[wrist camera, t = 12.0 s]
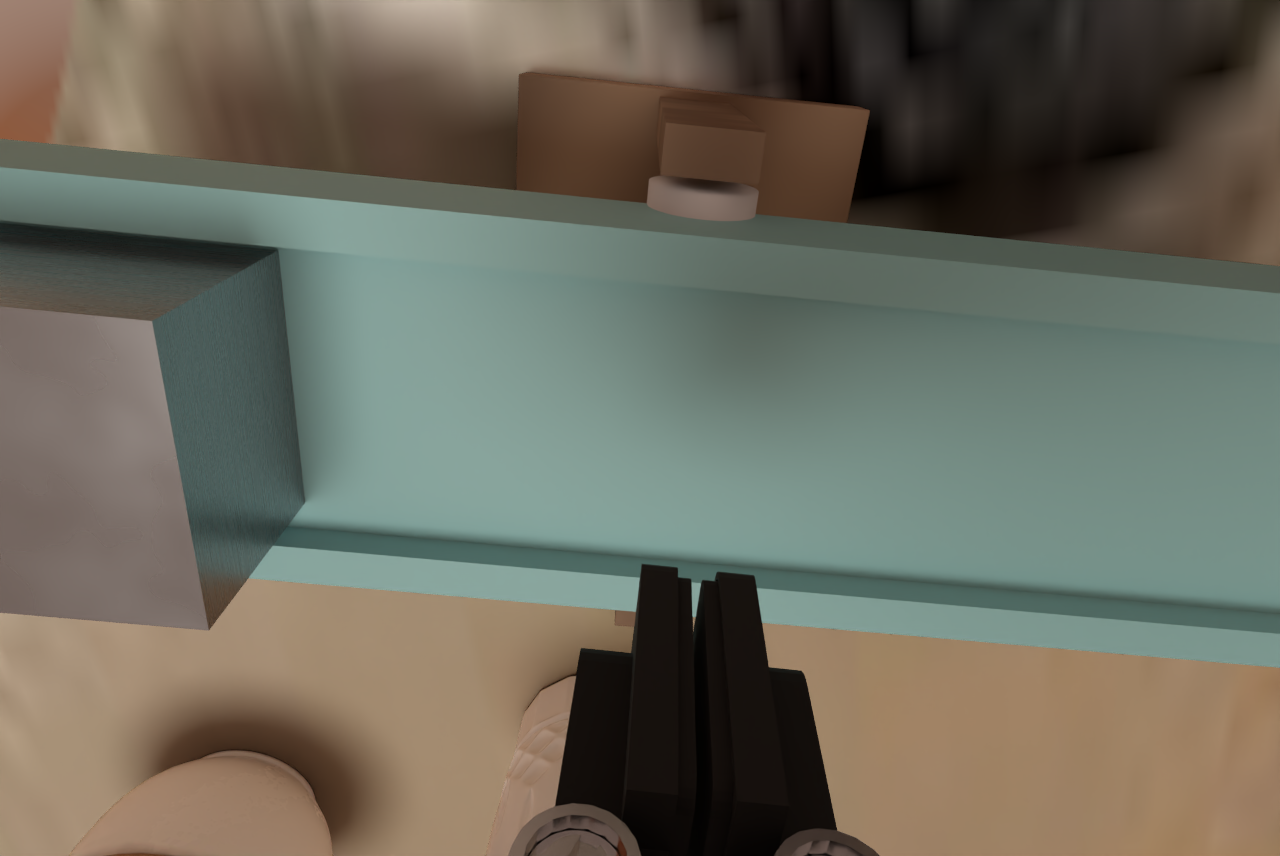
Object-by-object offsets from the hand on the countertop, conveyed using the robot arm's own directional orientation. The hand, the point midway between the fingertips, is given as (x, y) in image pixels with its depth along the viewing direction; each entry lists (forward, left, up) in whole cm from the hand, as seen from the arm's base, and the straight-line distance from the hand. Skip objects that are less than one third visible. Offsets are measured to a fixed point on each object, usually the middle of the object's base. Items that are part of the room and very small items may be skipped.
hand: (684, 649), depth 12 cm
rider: (+11, -1, -7) cm, 13 cm away
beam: (0, 0, -10) cm, 10 cm away
